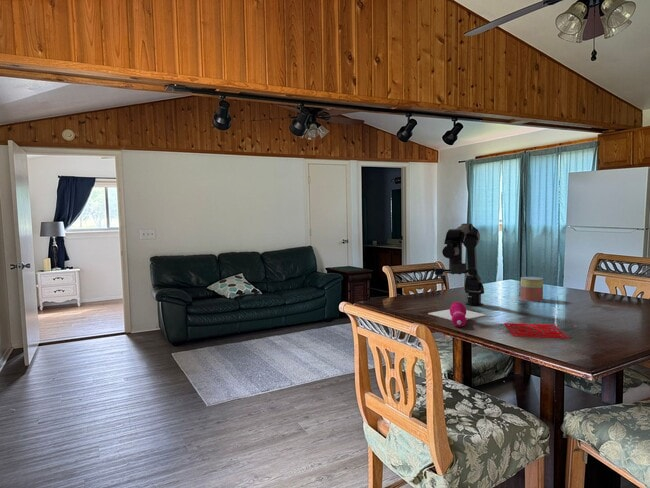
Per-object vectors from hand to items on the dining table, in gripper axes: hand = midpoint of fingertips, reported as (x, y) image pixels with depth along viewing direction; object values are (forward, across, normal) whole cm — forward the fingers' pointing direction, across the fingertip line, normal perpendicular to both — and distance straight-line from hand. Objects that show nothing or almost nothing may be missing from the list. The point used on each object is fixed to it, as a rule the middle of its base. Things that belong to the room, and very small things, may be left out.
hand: (455, 289), depth 200 cm
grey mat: (+13, +1, +6) cm, 14 cm away
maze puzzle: (+14, +30, -17) cm, 37 cm away
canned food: (+13, +42, +50) cm, 66 cm away
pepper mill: (+8, +1, 0) cm, 9 cm away
